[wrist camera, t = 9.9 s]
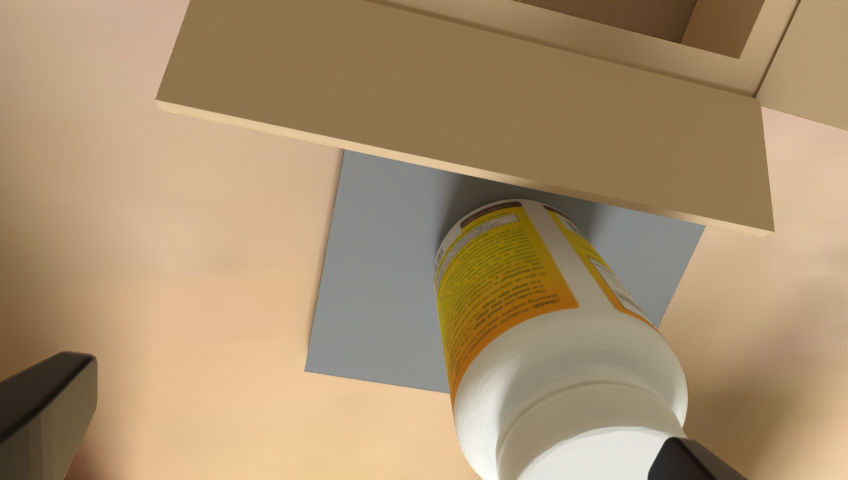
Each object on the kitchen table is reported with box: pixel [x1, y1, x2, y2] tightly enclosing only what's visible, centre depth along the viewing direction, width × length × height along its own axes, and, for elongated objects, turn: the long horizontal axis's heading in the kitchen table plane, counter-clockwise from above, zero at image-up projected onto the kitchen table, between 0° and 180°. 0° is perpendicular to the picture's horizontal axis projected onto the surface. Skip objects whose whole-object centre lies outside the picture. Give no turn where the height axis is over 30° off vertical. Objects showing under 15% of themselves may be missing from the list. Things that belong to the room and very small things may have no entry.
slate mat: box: [304, 149, 706, 394], centre depth 21 cm, size 13×12×1 cm
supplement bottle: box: [433, 199, 688, 480], centre depth 16 cm, size 6×6×10 cm
